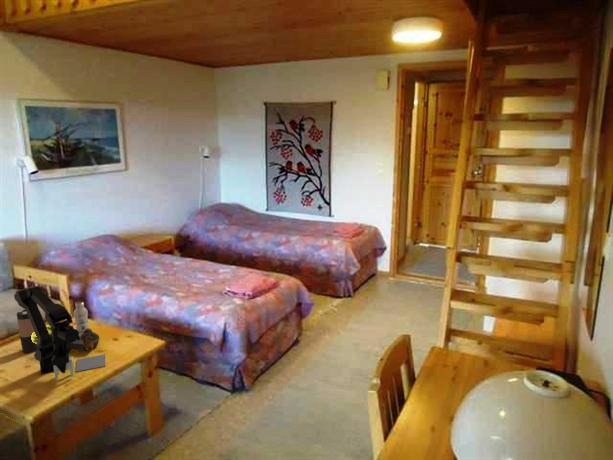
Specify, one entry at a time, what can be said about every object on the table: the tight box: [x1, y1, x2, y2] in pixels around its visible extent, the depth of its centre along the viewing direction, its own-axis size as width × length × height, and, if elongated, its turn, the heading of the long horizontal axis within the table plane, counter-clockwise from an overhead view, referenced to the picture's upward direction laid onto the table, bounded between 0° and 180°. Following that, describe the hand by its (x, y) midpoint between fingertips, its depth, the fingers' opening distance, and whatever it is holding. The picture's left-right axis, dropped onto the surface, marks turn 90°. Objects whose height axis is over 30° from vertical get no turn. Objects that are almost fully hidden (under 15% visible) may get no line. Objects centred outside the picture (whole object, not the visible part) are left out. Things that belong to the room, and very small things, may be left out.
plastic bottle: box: [72, 301, 89, 336], centre depth 227 cm, size 6×7×20 cm
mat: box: [75, 353, 107, 373], centre depth 205 cm, size 12×12×1 cm
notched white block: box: [53, 356, 75, 381], centre depth 192 cm, size 7×5×7 cm
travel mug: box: [16, 309, 37, 354], centre depth 216 cm, size 8×8×20 cm
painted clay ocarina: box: [80, 328, 100, 351], centre depth 220 cm, size 10×15×8 cm, turn 33°
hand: (64, 370), depth 192 cm, fingers closed on notched white block, 5 cm apart
